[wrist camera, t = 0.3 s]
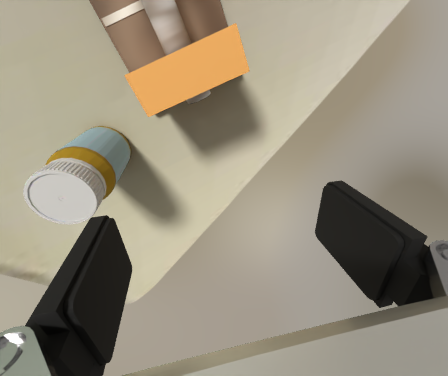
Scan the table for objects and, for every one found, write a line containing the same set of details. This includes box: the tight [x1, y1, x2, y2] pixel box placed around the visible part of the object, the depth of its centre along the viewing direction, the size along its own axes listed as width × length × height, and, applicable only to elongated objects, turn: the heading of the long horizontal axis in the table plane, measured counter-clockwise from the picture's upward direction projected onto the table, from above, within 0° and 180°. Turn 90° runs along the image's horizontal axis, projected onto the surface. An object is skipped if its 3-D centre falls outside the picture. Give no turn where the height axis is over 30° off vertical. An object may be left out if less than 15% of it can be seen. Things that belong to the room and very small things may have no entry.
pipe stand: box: [89, 0, 228, 104], centre depth 22 cm, size 14×20×10 cm
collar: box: [124, 23, 249, 117], centre depth 24 cm, size 11×4×9 cm, turn 112°
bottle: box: [23, 126, 131, 224], centre depth 27 cm, size 7×7×15 cm
